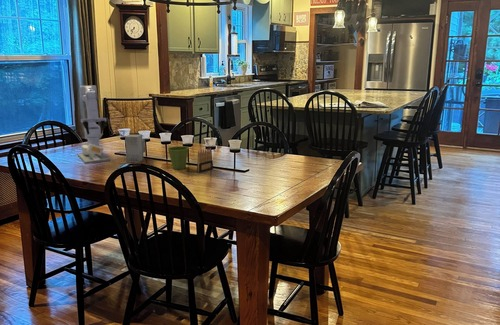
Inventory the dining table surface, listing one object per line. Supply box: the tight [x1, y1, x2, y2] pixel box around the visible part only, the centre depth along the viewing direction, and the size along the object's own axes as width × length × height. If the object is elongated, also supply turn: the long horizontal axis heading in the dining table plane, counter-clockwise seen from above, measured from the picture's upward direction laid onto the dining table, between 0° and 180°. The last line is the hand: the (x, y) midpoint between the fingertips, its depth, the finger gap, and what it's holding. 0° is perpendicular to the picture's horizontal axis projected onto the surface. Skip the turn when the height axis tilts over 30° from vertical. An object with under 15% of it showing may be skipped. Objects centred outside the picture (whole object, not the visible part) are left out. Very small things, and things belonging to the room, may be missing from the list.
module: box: [87, 143, 104, 156], centre depth 276 cm, size 5×8×4 cm, turn 119°
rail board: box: [77, 144, 111, 165], centre depth 277 cm, size 26×14×6 cm, turn 29°
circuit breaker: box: [124, 133, 146, 163], centre depth 272 cm, size 8×14×15 cm, turn 174°
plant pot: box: [167, 145, 190, 170], centre depth 250 cm, size 12×12×11 cm
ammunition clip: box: [196, 147, 214, 174], centre depth 244 cm, size 11×2×12 cm, turn 142°
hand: (95, 133), depth 272 cm, fingers open, 7 cm apart
